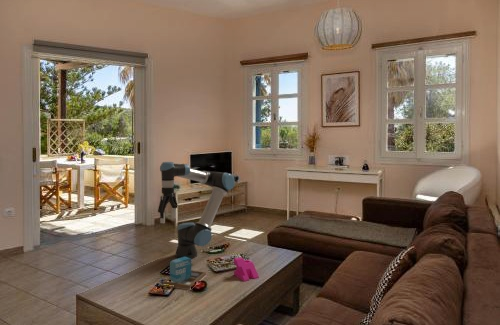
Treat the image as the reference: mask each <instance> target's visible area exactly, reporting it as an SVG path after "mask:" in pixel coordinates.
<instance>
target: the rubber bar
mask: <svg viewBox="0 0 500 325" xmlns="http://www.w3.org/2000/svg"><path fill="white" fill-rule="evenodd" d="M199 276H200V274H198V273H191V277H193V278H198V277H199Z"/></svg>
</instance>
